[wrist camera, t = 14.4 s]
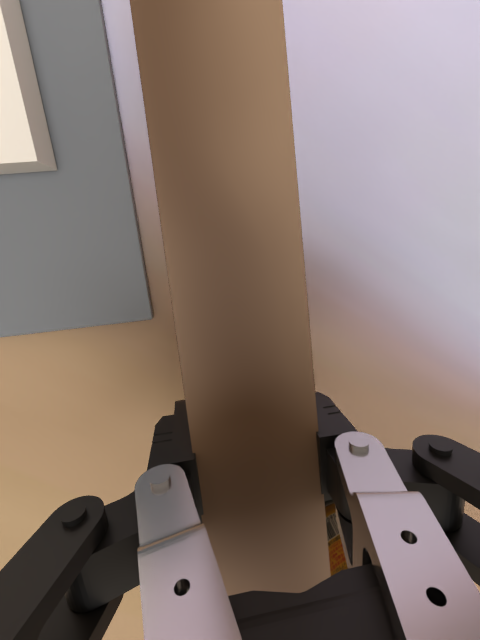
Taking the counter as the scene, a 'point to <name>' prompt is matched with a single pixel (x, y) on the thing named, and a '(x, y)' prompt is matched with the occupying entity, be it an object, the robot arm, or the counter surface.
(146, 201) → the counter surface
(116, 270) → the mat
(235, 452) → the push bar
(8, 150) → the tile
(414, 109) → the counter surface
